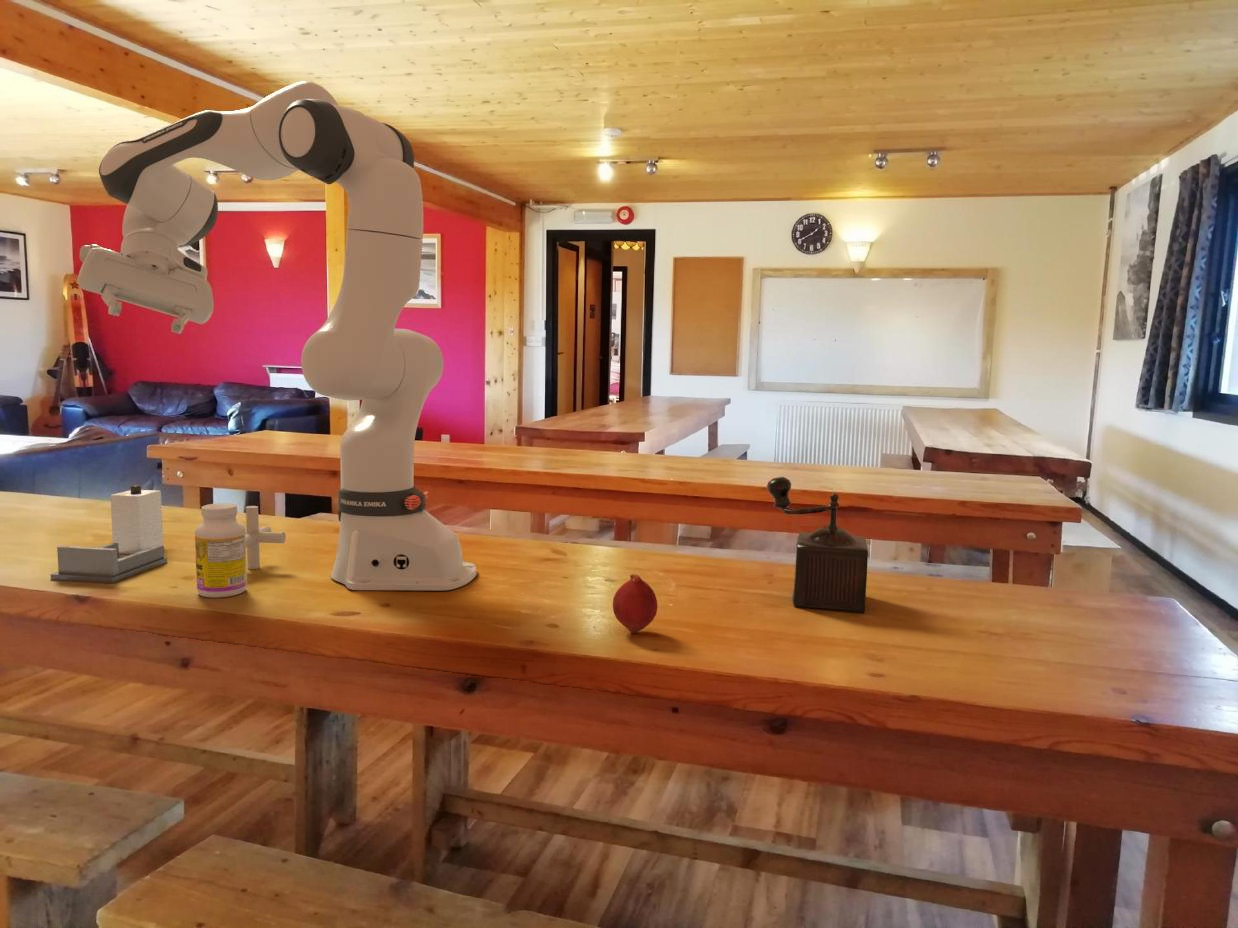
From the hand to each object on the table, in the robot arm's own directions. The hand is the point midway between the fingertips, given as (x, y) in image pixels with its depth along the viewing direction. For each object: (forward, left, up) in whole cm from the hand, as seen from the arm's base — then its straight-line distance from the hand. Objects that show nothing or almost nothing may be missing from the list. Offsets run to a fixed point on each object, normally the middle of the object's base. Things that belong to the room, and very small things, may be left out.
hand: (146, 321), depth 141 cm
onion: (-84, +24, -39) cm, 95 cm away
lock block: (+5, -3, -39) cm, 40 cm away
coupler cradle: (0, +10, -39) cm, 40 cm away
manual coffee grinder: (-109, +3, -39) cm, 116 cm away
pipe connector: (-20, +4, -39) cm, 44 cm away
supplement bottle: (-23, +18, -39) cm, 49 cm away
